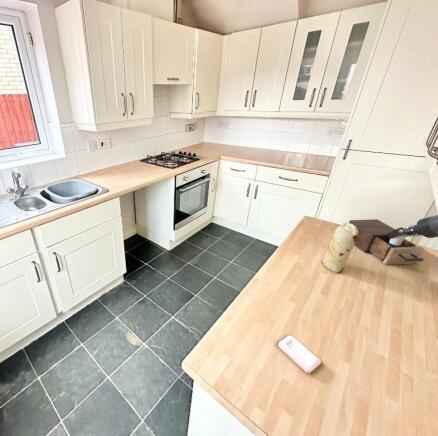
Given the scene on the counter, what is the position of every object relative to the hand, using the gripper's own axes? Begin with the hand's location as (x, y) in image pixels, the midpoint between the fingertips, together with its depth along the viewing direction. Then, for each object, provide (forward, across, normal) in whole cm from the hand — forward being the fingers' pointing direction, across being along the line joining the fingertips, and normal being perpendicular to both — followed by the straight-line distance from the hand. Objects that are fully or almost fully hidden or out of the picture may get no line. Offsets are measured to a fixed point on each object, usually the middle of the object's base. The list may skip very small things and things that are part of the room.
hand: (393, 235), depth 102 cm
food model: (+2, +28, +12) cm, 31 cm away
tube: (+1, 0, +4) cm, 4 cm away
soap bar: (-23, +64, +38) cm, 78 cm away
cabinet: (+13, 0, +1) cm, 13 cm away
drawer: (+4, 0, +9) cm, 10 cm away
